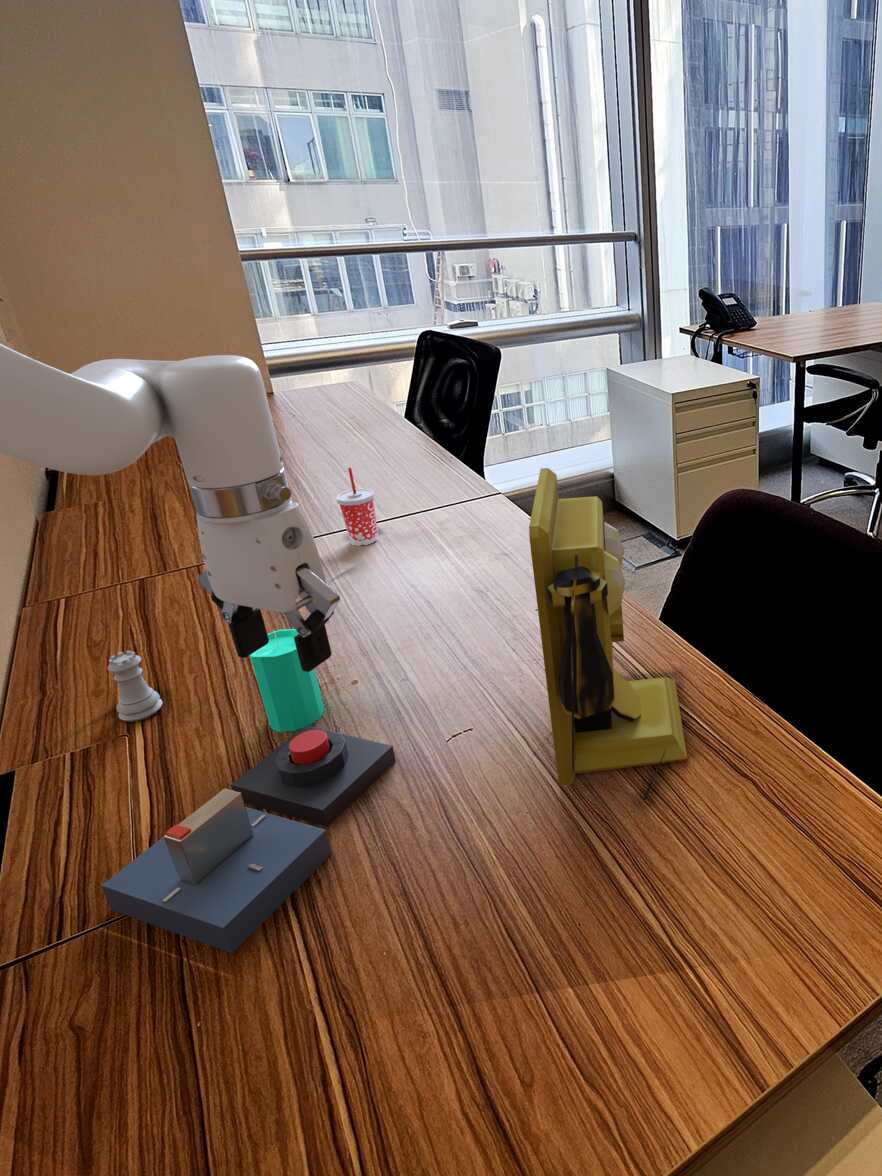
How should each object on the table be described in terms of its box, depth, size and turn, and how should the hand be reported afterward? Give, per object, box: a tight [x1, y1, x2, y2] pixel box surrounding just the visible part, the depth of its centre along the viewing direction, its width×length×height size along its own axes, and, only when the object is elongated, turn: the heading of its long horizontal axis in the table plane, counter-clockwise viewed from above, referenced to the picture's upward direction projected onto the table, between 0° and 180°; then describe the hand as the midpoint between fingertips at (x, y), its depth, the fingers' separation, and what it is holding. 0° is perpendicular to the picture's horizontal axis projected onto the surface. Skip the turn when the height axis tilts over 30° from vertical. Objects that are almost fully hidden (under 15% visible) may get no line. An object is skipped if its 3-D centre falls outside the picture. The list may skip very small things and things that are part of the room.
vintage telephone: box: [528, 467, 688, 802], centre depth 85 cm, size 31×14×30 cm, turn 9°
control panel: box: [100, 806, 333, 954], centre depth 71 cm, size 14×11×3 cm
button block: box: [230, 725, 397, 828], centre depth 83 cm, size 12×10×4 cm
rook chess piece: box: [106, 650, 163, 723], centre depth 93 cm, size 4×4×8 cm
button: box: [289, 730, 330, 765], centre depth 82 cm, size 4×4×2 cm
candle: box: [249, 628, 325, 733], centre depth 92 cm, size 6×6×12 cm
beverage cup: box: [335, 467, 379, 547], centre depth 138 cm, size 6×6×14 cm
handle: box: [162, 788, 254, 884], centre depth 70 cm, size 6×2×5 cm, turn 162°
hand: (285, 656), depth 78 cm, fingers open, 7 cm apart
